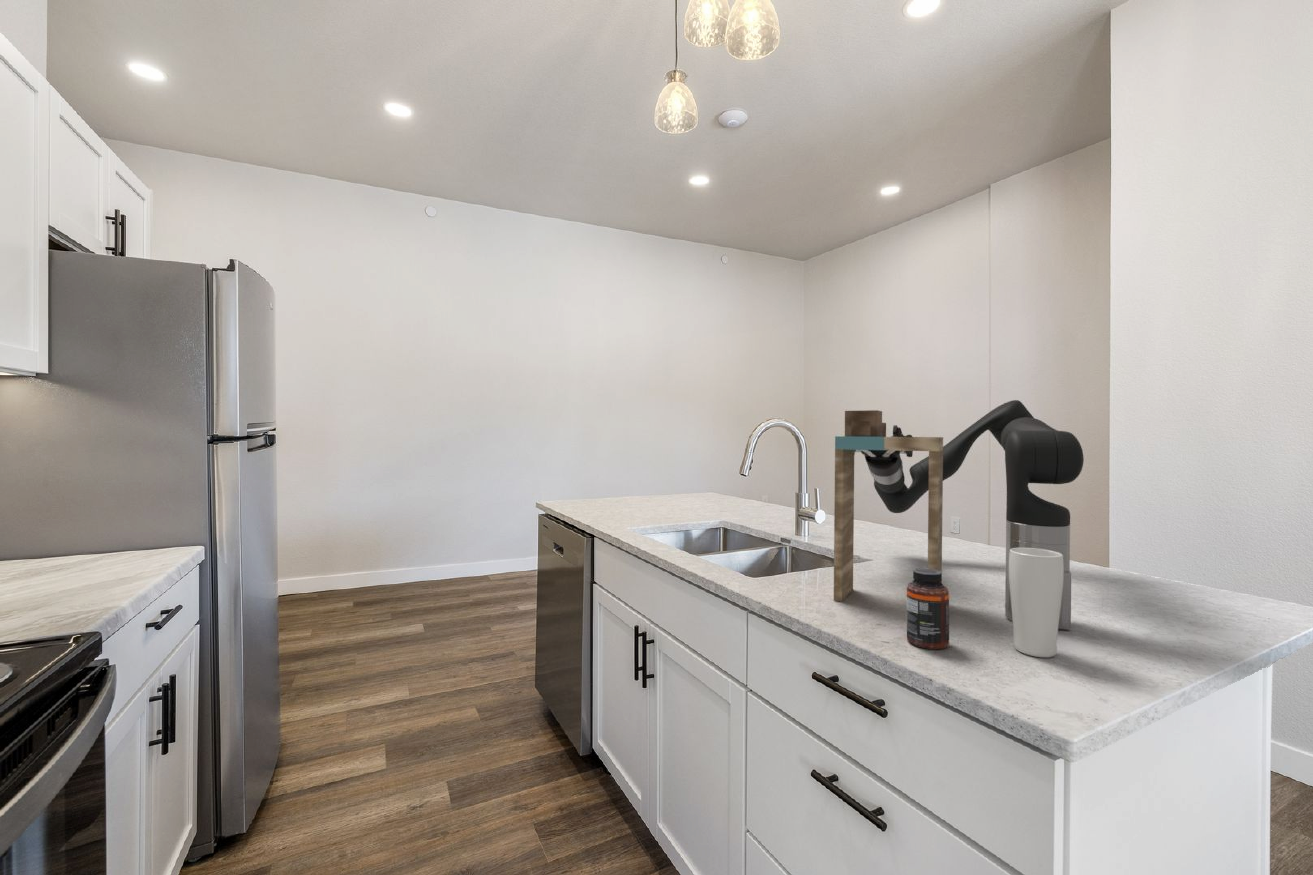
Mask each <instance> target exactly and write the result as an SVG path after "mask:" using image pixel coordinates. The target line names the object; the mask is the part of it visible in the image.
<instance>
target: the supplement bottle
mask: <svg viewBox="0 0 1313 875" xmlns="http://www.w3.org/2000/svg"><path fill="white" fill-rule="evenodd" d="M912 573H913V575H912V578H913V580H912V581H911V582H909V583H908V584H907V585H906V639H907V642H909V643H910V644H912V646H913V645H914V646H915V647H919V648H923V649H927V650H941V649H945V648H947V647H948V646H949V645H950V593H949V589H948V588H947V586H946V585H944V584H943V582H942V583H941V581H943V579H942V577H943V576H942V575H943V572H942V573H941V572H940V571H938V570H935V569H928V567H927V568H926V567H925V568H924V567H920V568H914V569H913V570H912Z"/></svg>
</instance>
